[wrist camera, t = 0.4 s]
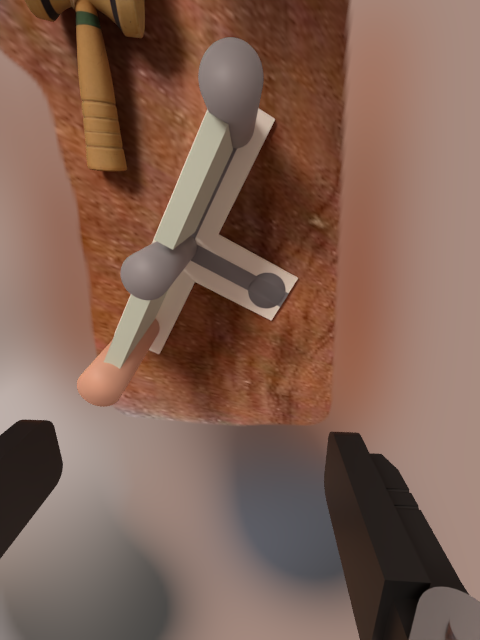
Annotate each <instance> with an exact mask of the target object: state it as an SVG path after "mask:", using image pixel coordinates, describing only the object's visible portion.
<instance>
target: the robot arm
mask: <svg viewBox="0 0 480 640" xmlns="http://www.w3.org/2000/svg"><path fill="white" fill-rule="evenodd" d="M62 468H63V463H62V458H61V454H60V449H59V445H58V441H57V437H56V432H55V428H54V425H53V423H52V422H50V421H46V420H20V421H18V422H16V423H15V424H14V425H12V426H11V427H10V428H9V429H8V430H6V431H5V432H4V433H3V434H1V435H0V558H1V557H2V556H3V554H4V553H5V552H6V550H7V549H8V548H9V546H10V545H11V544H12V543H13V541H14V540H15V539H16V537H17V536H18V535H19V533H20V532H21V531H22V529H23V528H24V527H25V526H26V524H27V523H28V522H29V520H30V519H31V518H32V516H33V515H34V514H35V512H36V511H37V510H38V509H39V507H40V506H41V505H42V503H43V502H44V501H45V500H46V498H47V497H48V496H49V494H50V493H51V492H52V490H53V489H54V488H55V486H56V485H57V483H58V481H59V479H60V477H61V473H62ZM324 487H325V495H326V501H327V505H328V509H329V514H330V518H331V522H332V526H333V530H334V534H335V538H336V542H337V547H338V551H339V555H340V559H341V563H342V567H343V571H344V576H345V579H346V584H347V588H348V592H349V596H350V600H351V604H352V609H353V613H354V617H355V621H356V625H357V629H358V633H359V638H360V640H480V602H479V601H478V600H476V599H475V598H473V597H471V596H470V595H469V594H468V592H467V591H466V589H465V588H464V586H463V585H462V583H461V582H460V580H459V578H458V576H457V574H456V572H455V570H454V569H453V567H452V565H451V563H450V562H449V560H448V558H447V556H446V554H445V553H444V551H443V549H442V547H441V545H440V544H439V542H438V540H437V538H436V537H435V535H434V533H433V531H432V529H431V528H430V526H429V524H428V522H427V521H426V519H425V517H424V515H423V514H422V512H421V510H419V509H418V504H417V503H416V501H415V499H414V497H413V496H412V494H411V493H409V488H408V487H407V485H406V483H405V481H404V480H403V478H402V476H401V474H400V472H399V471H398V469H396V467H394V466H393V465H392V464H391V463H390V462H389V461H388V460H387V459H386V458H385V457H384V456H383V455H382V454H369V452H368V450H367V447H366V445H365V443H364V441H363V439H362V437H361V435H360V434H359V433H351V432H350V433H349V432H330V434H329V437H328V446H327V455H326V465H325V474H324Z"/></svg>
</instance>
